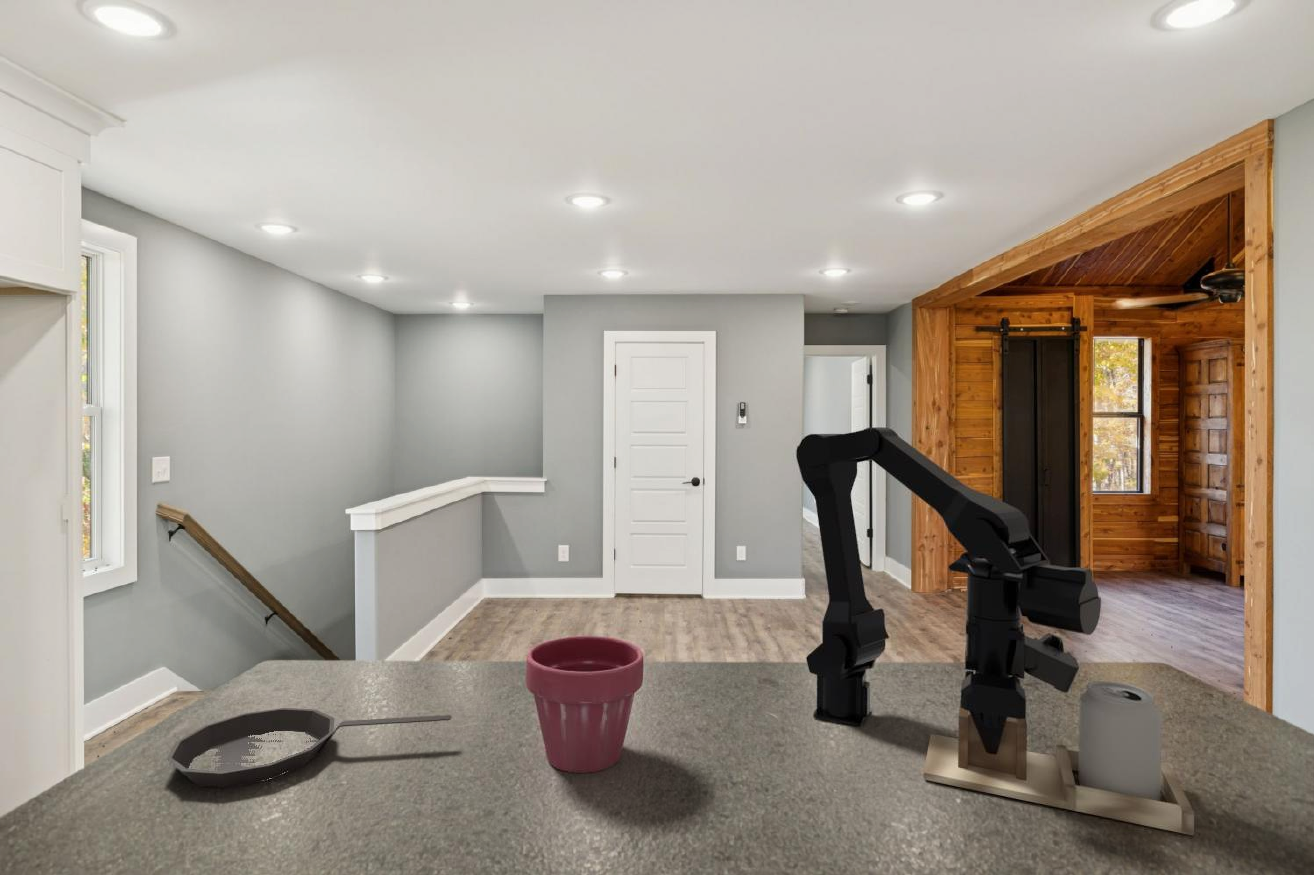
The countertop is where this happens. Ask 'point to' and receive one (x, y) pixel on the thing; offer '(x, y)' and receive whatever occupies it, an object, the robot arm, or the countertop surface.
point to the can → (1120, 740)
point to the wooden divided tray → (1046, 777)
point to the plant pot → (584, 698)
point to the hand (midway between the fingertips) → (991, 747)
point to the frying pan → (235, 739)
